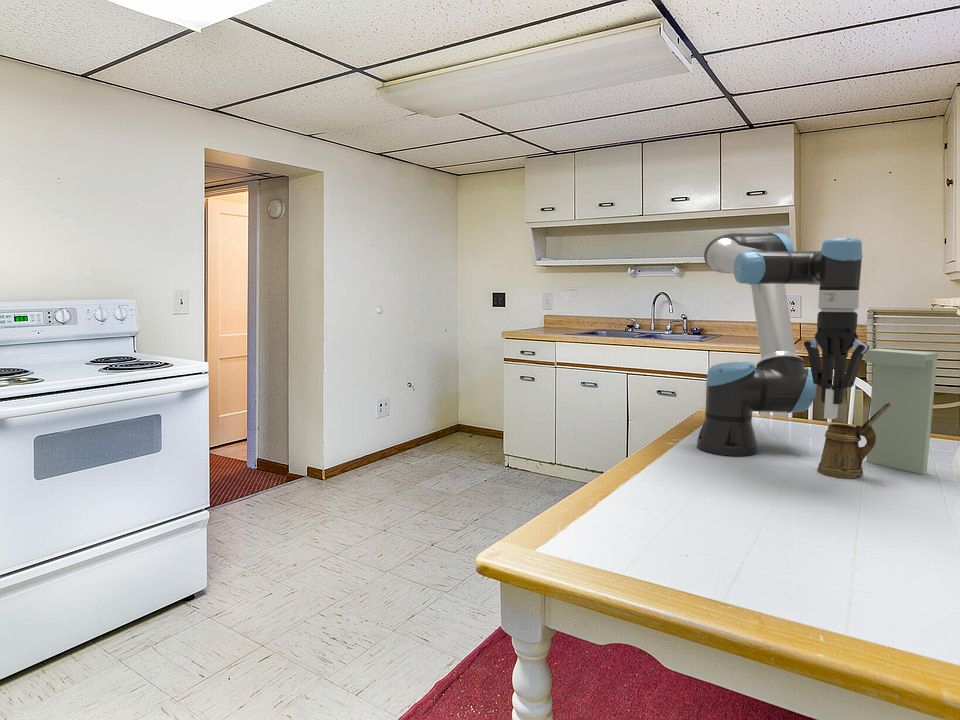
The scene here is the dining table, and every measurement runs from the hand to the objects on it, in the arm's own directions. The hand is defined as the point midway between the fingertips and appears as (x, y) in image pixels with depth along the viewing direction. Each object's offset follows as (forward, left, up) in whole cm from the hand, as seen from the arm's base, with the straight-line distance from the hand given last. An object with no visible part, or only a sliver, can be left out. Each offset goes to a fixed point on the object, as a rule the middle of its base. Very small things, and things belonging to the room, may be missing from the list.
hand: (830, 418), depth 136 cm
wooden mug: (0, +11, -15) cm, 19 cm away
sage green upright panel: (+2, +25, -15) cm, 29 cm away
